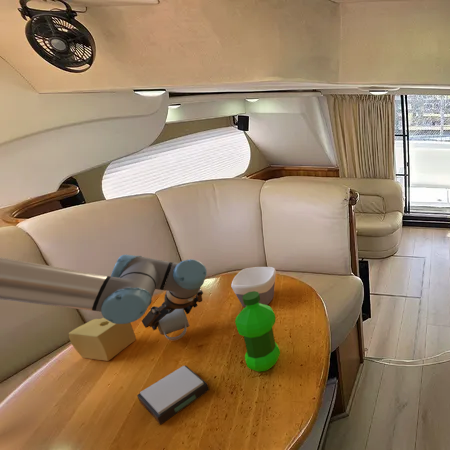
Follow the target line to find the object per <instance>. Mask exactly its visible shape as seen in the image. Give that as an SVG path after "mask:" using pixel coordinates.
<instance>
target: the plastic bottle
mask: <svg viewBox="0 0 450 450" xmlns="http://www.w3.org/2000/svg"><path fill="white" fill-rule="evenodd" d="M259 301H260V296H259V293H258V292H256V291H252V292H248V293H246V294H244V295H243V302H244V305H246V307H243V308H242V310H241V311H240V312H239V313H238V314H237V316H236V317H235V321H234V323H235V327H236V330H237V333H238V334H239V335H240V336H242V337H243V340H244V344H245V348H246V352H245V354H244V361H245V364H246V367H247V368H248V369H249V370H252V371H256V372H259V373H260V372H265V371H268V370H269V369H271V368H272V367H273V366H275V365H276V363H277V362H278V360H279V358H280V356H281V350H280V347H279V345H278V343H277V342H276V341H275V340H276V339H275V335H274V329H273V327H274V326H275V324H276V319H277V318H276V313H275V312H274V310H273V308H272V307H271V305H269V304H267V305H264V304H261V303H259Z"/></svg>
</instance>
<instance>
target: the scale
mask: <svg viewBox="0 0 450 450" xmlns="http://www.w3.org/2000/svg"><path fill="white" fill-rule="evenodd" d="M209 391H210V388H209V384H208V382H206V381H205V380H204V379H203V378H202V377H201V376H199V375H198V374H197V373H196V372H195V371H193V370H192V369H191V368H190V367H188V366H187V365H182V366H180V367H179V368H177V369H176V370H174V371H172V372H170V373H169V374H167V375H166V376H164V377H163V378H161V379H159V380H157V381H156V382H154V383H153V384H151V385H149V386H148V387H146V388H145V389H142V390H141V391H139V393H138V394H137V395H136V396H137V399H138V400H139V403H140V404H141V405H142V406H143V407H144V408H145V410H147V412H148V413H149V414H150V415H151V417H152V418H153V419H154V420H155V421H156V422H157V423H158V424H159V426H160V425H162V424H164V423H166V422H167V421H168V420H170V419H171V418H172V417H174V416H175V415H177V414H178V413H179V412H181V411H182V410H183V409H185V408H186V407H188V406H189V405H191V404H192V403H194V402H195V401H196V400H198V399H200V398H201V397H202V396H203V395H205V394H206V393H208V392H209Z"/></svg>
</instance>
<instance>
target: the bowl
mask: <svg viewBox="0 0 450 450" xmlns="http://www.w3.org/2000/svg"><path fill="white" fill-rule="evenodd" d="M276 274H277V270H276V268H275V267H272V266H253V267H247V268H242V269H241V270H240V271H239V272H238V273H237V274H236V275H234V277H233V279H232V281H231V284H230V286H231V289H232V291H233V292H234V294H235V296H236V298H237V299H238V301H239V303H240V304H241V306H242V307H243V308H245V307H246V305H244V302H243V295H244V294H246V293H248V292H252V291H256V292H258V293H259V296H260V301H259V303H261V304H264V305H269V304H270V303H271V302H272V301H273V299H274V295H275V286H276Z"/></svg>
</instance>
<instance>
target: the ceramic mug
mask: <svg viewBox="0 0 450 450" xmlns="http://www.w3.org/2000/svg"><path fill="white" fill-rule="evenodd" d="M158 322H159V324H158V327H157V329H158V331H159V334H160V335H161V336H164V337H165V338H166V339H167V340H168V341H177V340H180V339H182V338H183V337H184V336H185V335H186V334H187V329H188V327H190V323H189V320H188V317H187V314H186V312H185V310H184V308H183V309H175V310H174V311H173V312H172V313H169V314H167V315H165V316H164V317H163V318H162V319H161V320H159V321H158ZM180 330H183V331H182V332H181V333H180V334H179V335H178V336H172V337H171V336H168V335H169V334H172V333H174V332H177V331H180Z"/></svg>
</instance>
